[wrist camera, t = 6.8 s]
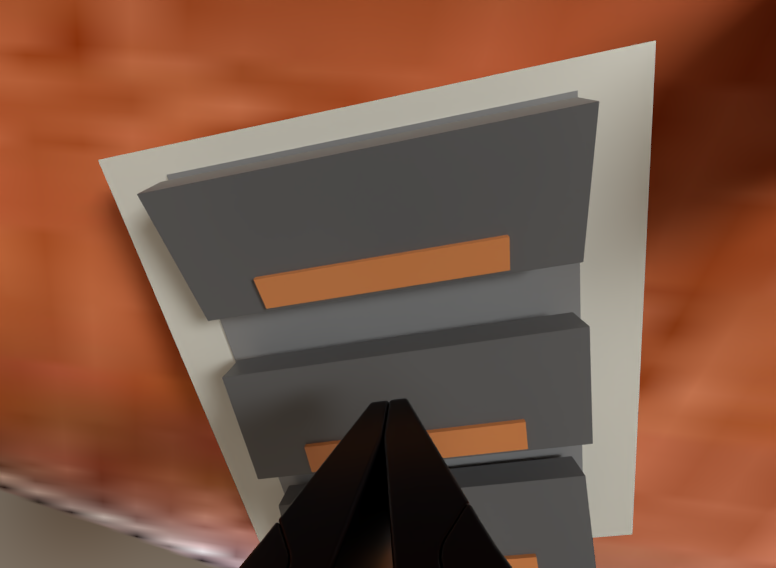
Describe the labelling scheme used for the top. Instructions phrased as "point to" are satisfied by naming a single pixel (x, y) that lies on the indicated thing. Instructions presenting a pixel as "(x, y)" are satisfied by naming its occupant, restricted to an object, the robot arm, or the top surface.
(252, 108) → the top surface
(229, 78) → the top surface
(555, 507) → the rocker
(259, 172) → the rocker
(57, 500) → the top surface
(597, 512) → the light switch panel
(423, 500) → the robot arm
